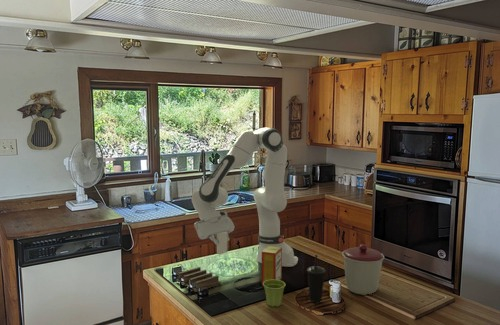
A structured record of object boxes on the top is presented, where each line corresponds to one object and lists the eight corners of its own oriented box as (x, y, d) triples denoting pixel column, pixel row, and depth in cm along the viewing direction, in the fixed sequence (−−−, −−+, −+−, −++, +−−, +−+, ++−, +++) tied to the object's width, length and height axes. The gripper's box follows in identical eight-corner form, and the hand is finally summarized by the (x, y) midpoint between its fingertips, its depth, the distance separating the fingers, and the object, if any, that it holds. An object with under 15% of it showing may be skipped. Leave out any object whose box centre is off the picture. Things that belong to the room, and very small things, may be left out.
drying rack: (176, 282, 195) (176, 273, 194) (200, 274, 204) (200, 266, 204) (195, 293, 183) (195, 283, 183) (220, 284, 192) (220, 275, 192)
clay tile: (216, 253, 201) (216, 233, 199) (224, 251, 204) (224, 231, 203) (219, 254, 199) (218, 234, 198) (227, 252, 202) (227, 232, 201)
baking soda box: (274, 286, 190) (275, 252, 188) (261, 284, 193) (261, 250, 191) (281, 279, 199) (281, 246, 197) (268, 276, 202) (269, 245, 200)
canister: (354, 301, 175) (355, 253, 172) (334, 284, 192) (335, 240, 190) (391, 296, 180) (393, 249, 177) (368, 280, 197) (370, 237, 195)
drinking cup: (323, 297, 179) (324, 252, 177) (325, 305, 171) (326, 258, 169) (306, 296, 180) (306, 251, 177) (306, 304, 172) (307, 257, 170)
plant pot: (271, 296, 180) (271, 277, 179) (289, 302, 174) (289, 283, 173) (258, 304, 172) (258, 284, 171) (276, 311, 166) (276, 290, 165)
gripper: (195, 218, 198) (207, 243, 192) (228, 211, 211) (241, 234, 205) (190, 226, 202) (202, 250, 195) (223, 218, 215) (235, 241, 209)
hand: (222, 242), depth 200 cm, fingers closed on clay tile, 5 cm apart
